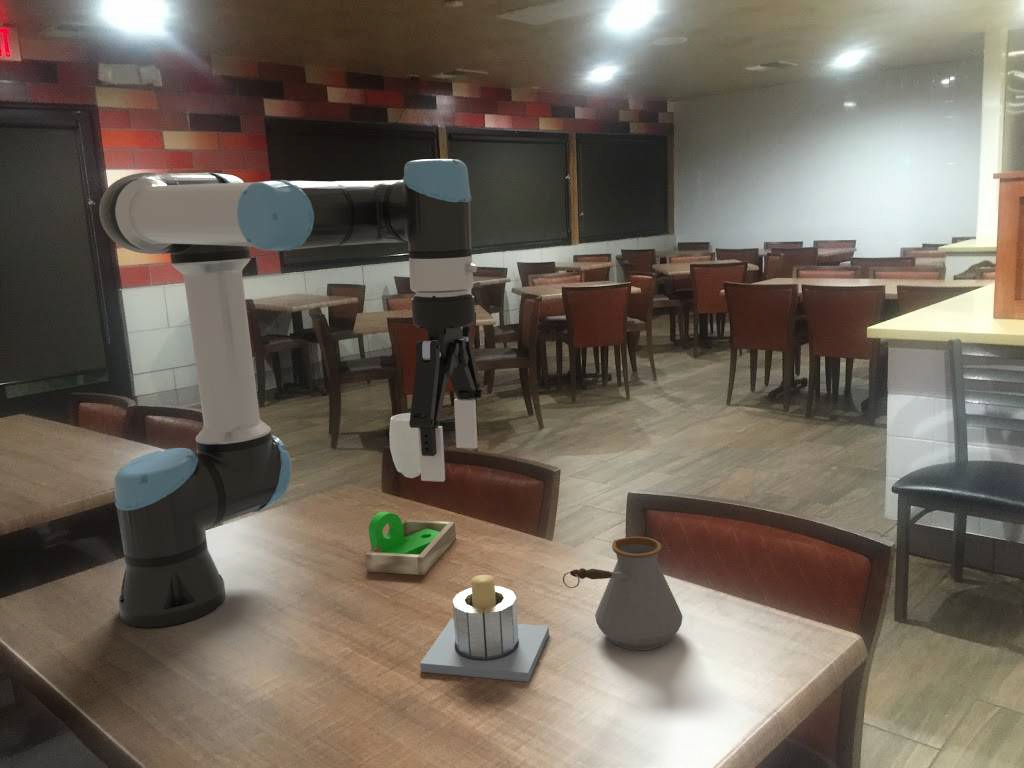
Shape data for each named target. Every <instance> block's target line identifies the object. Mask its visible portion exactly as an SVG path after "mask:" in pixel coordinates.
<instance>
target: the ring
mask: <svg viewBox="0 0 1024 768" xmlns="http://www.w3.org/2000/svg"><path fill="white" fill-rule="evenodd" d="M495 598H496V606H493V607H488V608H475V607H473V602H472V587H470V588H466V589H463V590H462V591H460V592H458V593H456V594H455V597H454V598H453V599H452V611H453V619H454V628H455V642H456V646H457V648H458V650H459V651H460V652H462V653H464V654H466V655H468V656H471V657H481V658H486V656H487V658H489V657H494V656H499V655H502V654H505V653H507V652H509V651H511V650H512V649H514V648H515V646H516V644H517V642H518V624H519V623H518V607H517V596H516V594H515V593H514V591H513V590H511V589H508V588H505V587H504V586H501V585H500V586H499V585H495Z"/></svg>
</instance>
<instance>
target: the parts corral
mask: <svg viewBox="0 0 1024 768" xmlns="http://www.w3.org/2000/svg"><path fill="white" fill-rule="evenodd" d="M401 521H402V526H403V533H404V537H407V536H409V535H412V534H414V533H416V532H419V531H421V530H424V529H426V528H428V529H431V530H435V531H438V532H440V533H439V534H438V535H437V536H436V537H435V538H434V539H433V540H432V542H431V543H430V544H429V545H428V546H427V547H426V548H425V549H424V550H423V551H422V553H421V554H420V555H415V554H397V553H381V546H378V547H377V546H374V547H373V548H372V549H370V550H369V551H367V552H366V554H365V560H366V561H365V562H366V563H365V564H366V572H370V573H385V574H386V573H389V574H399V575H400V574H401V575H403V574H404V575H416V576H417V575H419V576H425V575H426V574H427V573H428V572H429V571H430V570H431V568H432V567H433V566H434V564H435V563H436V562H437V561H438V560H439V558H440V557H441V556H442V555H443V554H444V553H445V552H446V551H447V549H448V548H449V547H450V545H451V544H452V543H453V542H454V541H455V540H456V538H457V537H456V534H457V533H456V522H455V521H441V520H439V521H437V520H422V519H421V520H419V519H417V520H416V519H415V520H414V519H401Z"/></svg>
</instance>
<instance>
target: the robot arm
mask: <svg viewBox="0 0 1024 768" xmlns="http://www.w3.org/2000/svg"><path fill="white" fill-rule="evenodd" d="M468 171H469V170H468V167H467V165H466V163H465V162H464V161H462V160H460V159H456V158H455V159H452V158H435V159H434V158H432V159H416V160H410V161H407V162H406V163H405V165H404V167H403V173H404V174H403V177H402V179H399V180H398V179H397V180H396V179H395V180H394V179H393V180H340V181H339V180H336V181H335V180H334V181H333V180H332V181H331V180H327V181H320V180H319V181H317V180H313V181H312V180H311V181H310V180H286V179H285V180H284V179H270V180H265V181H256V182H255V181H254V182H253V181H252V182H251V181H250V182H244V180H242V179H241V178H239V177H237V176H235V175H232V174H225V173H217V172H216V173H215V172H208V171H206V172H139V173H134V174H133V173H132V174H130V175H126V176H123V177H120V179H119V178H118V179H117V180H115V181H114V182H113V183H112V184H111V185H109V186H108V188H106V190H105V191H104V193H103V194H102V197H101V198H100V202H99V212H98V213H99V219H100V223H101V225H102V228H103V230H104V231H105V233H106V235H107V236H108V237H109V238H110V240H112V242H114V243H115V244H117V245H118V246H119V247H121V248H123V249H126V250H129V251H131V252H135V253H139V254H147V255H159V254H160V255H161V254H162V255H166V254H169V255H170V262H171V266H172V267H173V268H174V269H175V270H176V271H178V272H179V273H180V274H181V275H182V277H183V282H184V288H185V294H186V301H187V309H188V310H187V311H188V319H189V324H190V331H191V340H192V347H193V355H194V362H195V369H196V376H197V377H196V378H197V384H198V389H199V391H198V392H199V399H200V406H201V412H202V413H201V414H202V415H201V416H202V421H203V422H202V423H203V427H202V428H201V430H200V431H199V433H198V434H197V435H196V437H195V445H196V453H195V451H193V450H192V449H190V448H185V447H172V448H167V449H165V450H156V451H152V452H149V453H147V454H143V455H141V456H139V457H137V458H134V459H132V460H130V461H129V462H127V463H125V464H124V465H123V466H122V467H120V468H119V470H118V471H117V472H116V474H115V476H114V482H113V483H114V505H115V507H116V510H117V511H116V512H117V518H118V519H117V520H118V523H119V524H118V525H119V530H120V535H121V536H120V537H121V542H122V548H123V555H124V563H125V568H124V574H123V578H122V582H121V583H122V584H121V588H120V594H119V599H118V609H119V617H120V619H121V621H122V622H124V624H127V625H128V626H129V625H130V626H132V627H135V628H136V627H137V628H161V627H167V626H168V627H169V626H174V625H178V624H182V623H186V622H190V621H193V620H195V619H198V618H200V617H203V616H205V615H207V614H209V613H211V612H212V611H214V610H215V609H216V608H217V607H219V606H221V604H222V603H223V602H224V600H225V598H226V595H227V594H226V588H225V581H224V578H223V577H222V575H221V574H220V572H219V570H218V568H217V565H216V564H215V562H214V560H213V557H212V555H211V554H210V552H209V548H208V542H207V534H206V529H208V528H210V527H214V526H216V525H220V524H223V523H225V522H228V521H230V520H233V519H236V518H239V517H242V516H245V515H248V514H251V513H256V512H260V511H261V510H263V509H265V508H267V507H269V506H272V505H273V504H276V503H277V502H278V501H280V500H281V499H282V498H283V497H284V495H285V494H286V492H287V491H288V488H289V486H290V482H291V476H292V475H291V474H292V464H291V458H290V455H289V451H288V450H285V446H286V445H285V444H284V443H283V441H282V440H281V439H280V438H279V437H278V436H275V435H273V434H272V428H271V426H269V425H268V424H267V423H265V422H264V421H263V420H262V419H261V418H260V416H261V415H260V409H259V401H258V394H257V385H256V378H255V368H254V361H253V352H252V345H251V344H252V343H251V336H250V328H249V319H248V312H247V304H246V303H247V301H246V297H245V296H246V295H245V288H244V287H245V286H244V278H243V270H244V268H245V267H246V266H247V264H249V263H250V261H251V253H250V249H251V248H252V247H253V248H255V249H258V250H260V251H273V252H288V251H290V252H291V251H293V250H301V249H311V248H320V247H321V248H322V247H323V248H324V247H335V246H336V247H338V246H353V245H366V244H367V245H369V244H380V243H383V244H384V243H385V244H386V243H388V244H389V243H405V244H406V243H407V244H408V245H407V246H408V264H409V265H408V267H409V287H410V288H409V289H410V290H411V291H412V292H413V293H415V295H413V296H412V298H411V300H410V301H411V313H412V314H411V316H412V317H411V318H412V323H413V325H414V327H416V328H417V329H418V328H419V329H424V330H426V340H417V341H416V343H415V360H416V361H415V369H414V378H413V379H414V380H413V386H412V387H413V389H412V397H411V398H412V399H411V406H410V413H411V414H410V421H409V425H410V427H411V428H418V433H419V450H420V468H421V473H420V480H421V481H422V482H443V483H444V482H445V480H446V468H445V449H444V432H443V426H442V425H440V420H441V415H442V410H443V406H444V405H443V404H444V399H445V394H446V389H447V383H448V379H450V382H451V384H452V387H453V390H454V393H455V394H456V397H457V398H455V399H454V400H453V403H454V405H453V406H454V427H455V445H456V446H455V447H456V448H457V449H477V448H478V430H477V428H478V427H477V426H478V425H477V424H478V423H477V406H476V399H477V398H478V399H481V398H482V396H483V391H482V389H481V382H480V377H479V372H478V366H477V362H476V358H475V357H476V356H475V353H474V347H473V342H472V332H471V331H472V330H471V329H472V328H471V325H473V324H474V323H475V322H476V310H475V309H476V308H475V307H476V306H475V296H474V295H473V293H471V292H469V290H472V289H473V288H474V273H476V272H477V270H478V266H477V265H476V264H474V263H473V250H472V223H471V222H472V216H471V215H472V214H471V213H472V211H471V210H472V209H471V208H472V207H471V206H472V204H471V203H472V202H471V201H472V194H471V187H470V181H469V180H470V179H469V172H468Z"/></svg>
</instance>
